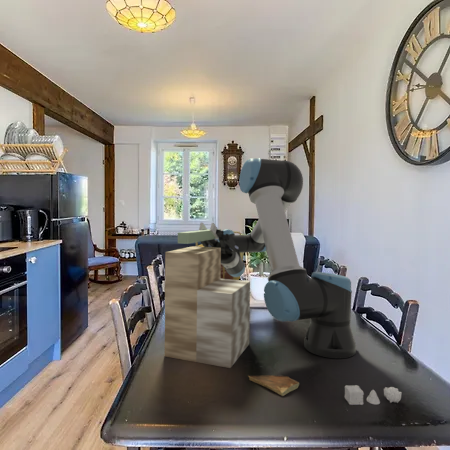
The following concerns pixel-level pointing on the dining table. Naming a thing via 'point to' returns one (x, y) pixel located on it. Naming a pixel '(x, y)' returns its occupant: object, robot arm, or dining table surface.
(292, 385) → the shard
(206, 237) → the green block
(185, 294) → the stand
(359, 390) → the game pieces
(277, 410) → the dining table surface
